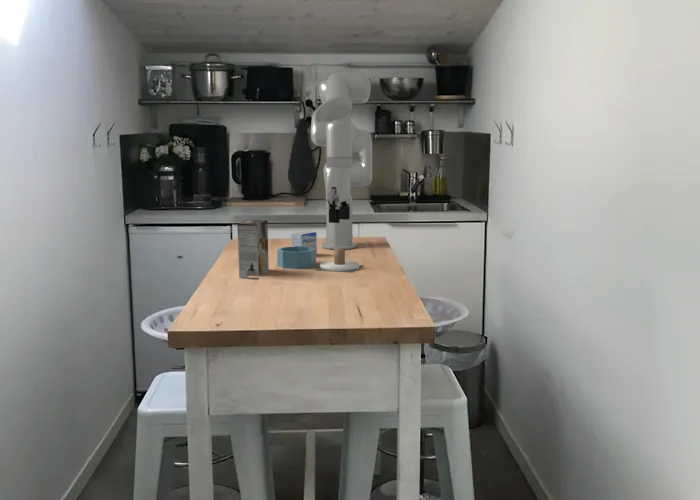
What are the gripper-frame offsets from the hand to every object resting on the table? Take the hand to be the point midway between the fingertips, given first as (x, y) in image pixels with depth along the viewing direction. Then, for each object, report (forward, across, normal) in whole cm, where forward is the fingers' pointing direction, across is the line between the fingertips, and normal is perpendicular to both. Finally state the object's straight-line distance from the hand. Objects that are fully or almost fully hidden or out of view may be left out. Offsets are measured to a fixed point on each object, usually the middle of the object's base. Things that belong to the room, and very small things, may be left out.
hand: (339, 221), depth 217 cm
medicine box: (+15, -18, -18) cm, 30 cm away
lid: (+14, -1, 0) cm, 14 cm away
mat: (+15, -1, 0) cm, 15 cm away
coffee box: (+16, +13, -22) cm, 30 cm away
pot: (+15, -1, -14) cm, 21 cm away
